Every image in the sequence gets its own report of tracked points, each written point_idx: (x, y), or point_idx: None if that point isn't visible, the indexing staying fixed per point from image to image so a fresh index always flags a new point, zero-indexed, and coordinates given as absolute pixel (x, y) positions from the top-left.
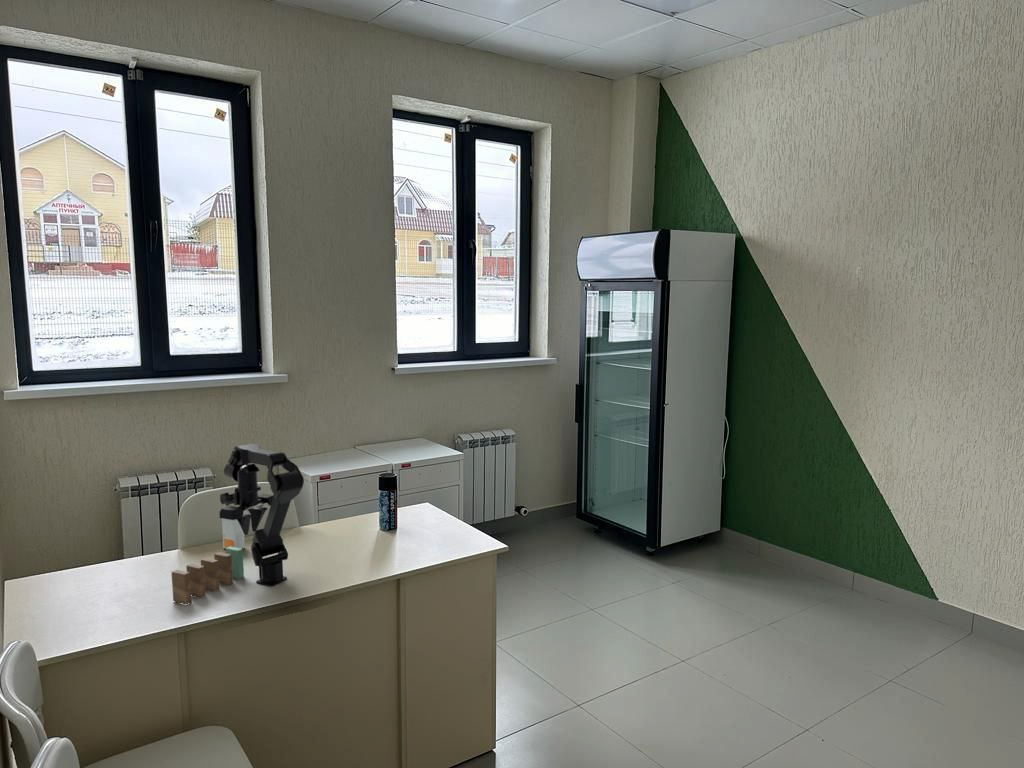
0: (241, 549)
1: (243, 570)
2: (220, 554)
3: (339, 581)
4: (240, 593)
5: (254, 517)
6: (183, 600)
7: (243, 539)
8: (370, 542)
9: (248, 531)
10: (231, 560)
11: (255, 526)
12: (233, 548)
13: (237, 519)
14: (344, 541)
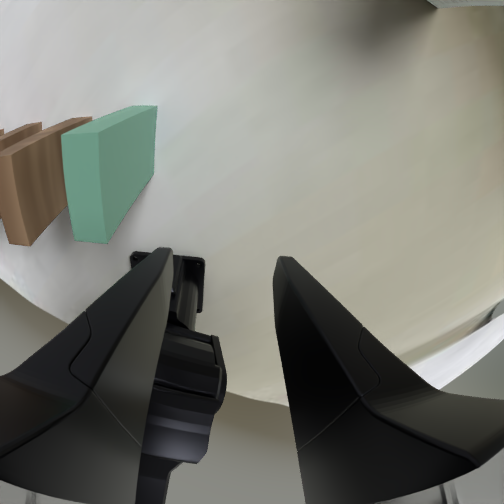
0: (100, 241)
1: (144, 185)
2: (1, 194)
3: (235, 382)
4: (65, 253)
5: (317, 406)
6: None
7: (458, 3)
8: (446, 327)
9: (168, 308)
10: (45, 228)
11: (279, 326)
12: (81, 187)
13: (14, 384)
14: (467, 285)
